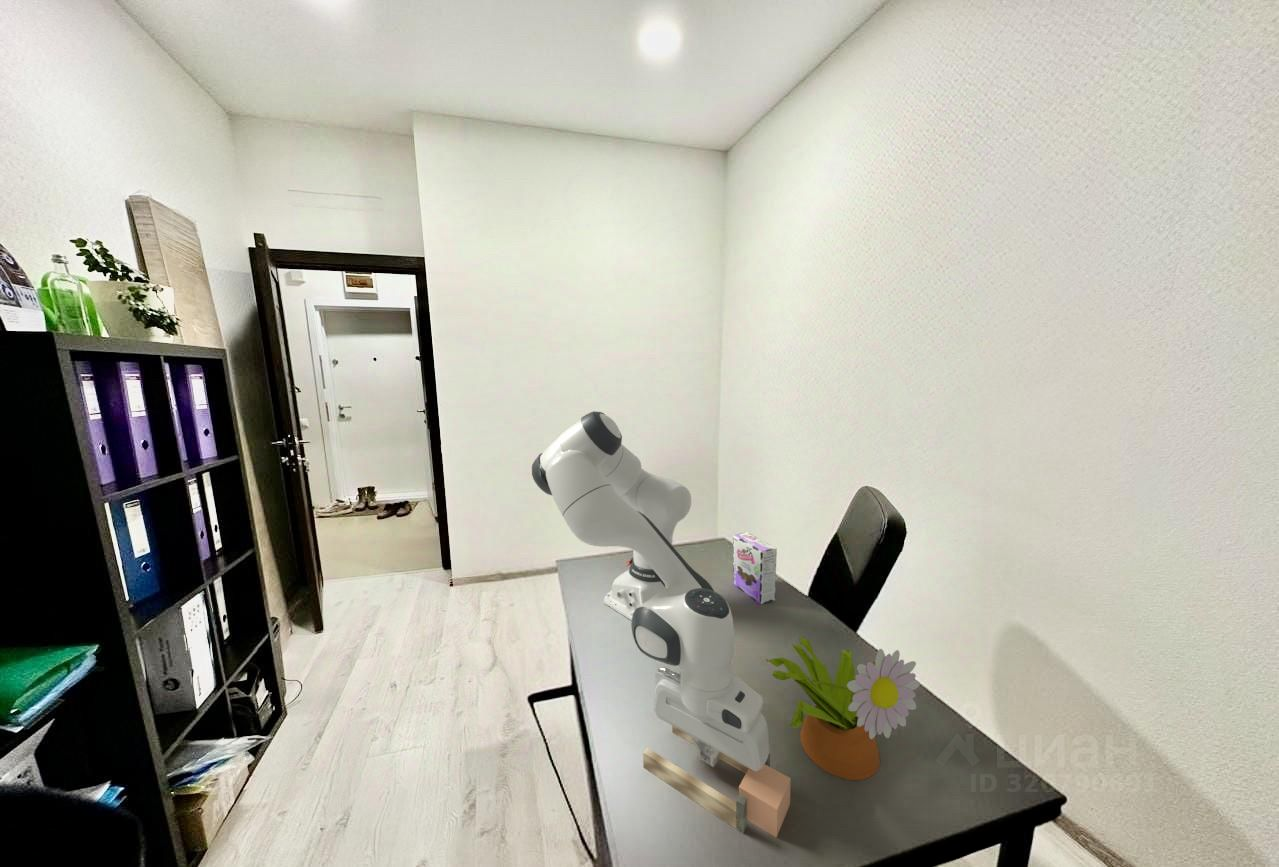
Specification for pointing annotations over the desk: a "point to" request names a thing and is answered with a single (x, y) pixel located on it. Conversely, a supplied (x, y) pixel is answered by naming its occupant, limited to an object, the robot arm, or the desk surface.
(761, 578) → the candy box
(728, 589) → the desk surface
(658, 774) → the chute
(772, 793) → the block
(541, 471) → the robot arm
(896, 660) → the decorative plant
